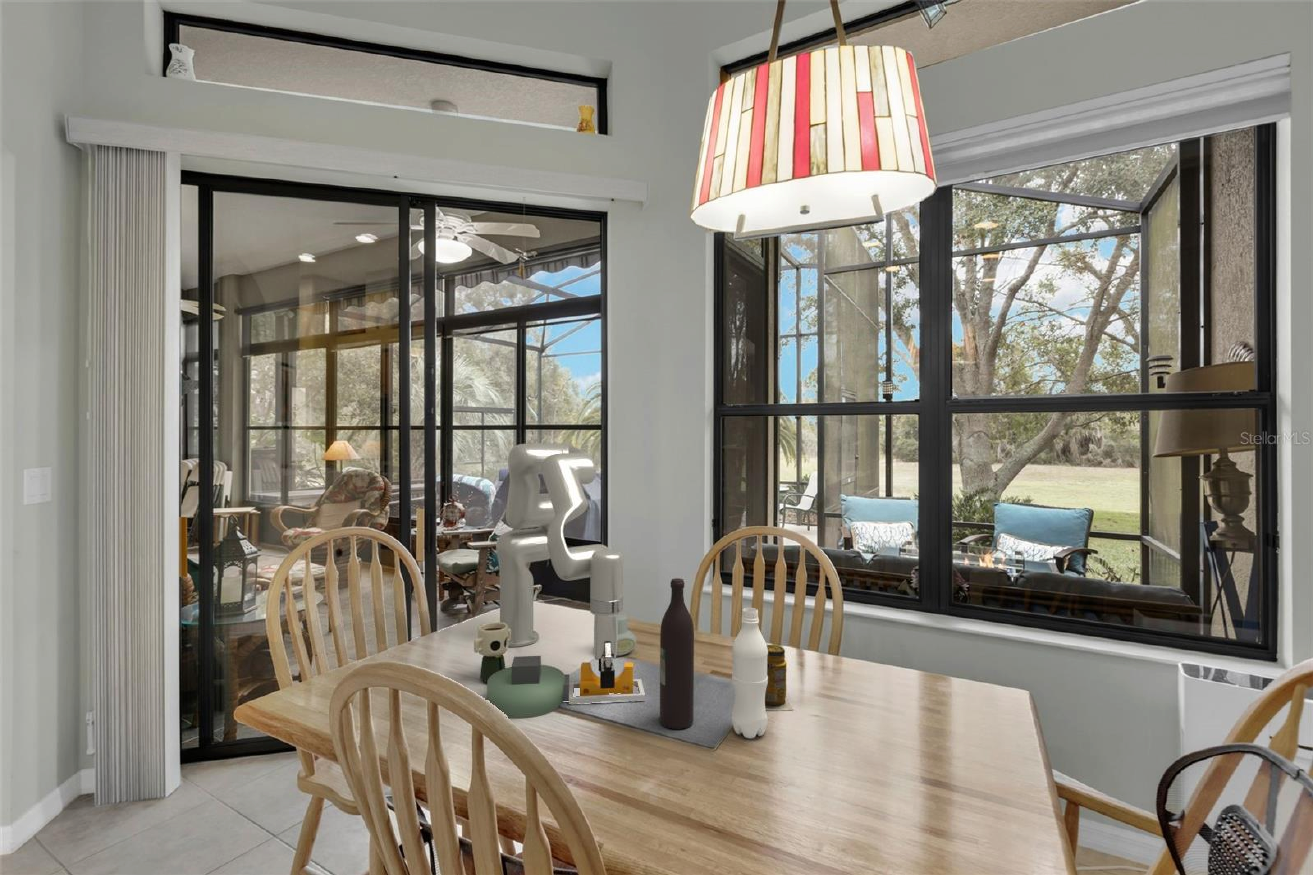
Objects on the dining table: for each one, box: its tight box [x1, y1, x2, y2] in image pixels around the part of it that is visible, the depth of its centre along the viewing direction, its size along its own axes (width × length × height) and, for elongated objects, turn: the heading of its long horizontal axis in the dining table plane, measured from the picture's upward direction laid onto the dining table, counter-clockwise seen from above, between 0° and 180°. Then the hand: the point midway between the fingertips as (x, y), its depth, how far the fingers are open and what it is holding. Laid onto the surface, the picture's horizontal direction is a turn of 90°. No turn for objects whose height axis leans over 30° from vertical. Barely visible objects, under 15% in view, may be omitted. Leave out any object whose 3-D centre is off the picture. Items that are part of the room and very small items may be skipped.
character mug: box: [473, 621, 511, 683], centre depth 153 cm, size 11×7×13 cm, turn 143°
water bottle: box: [731, 607, 768, 739], centre depth 127 cm, size 7×7×25 cm
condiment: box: [765, 644, 794, 712], centre depth 141 cm, size 7×8×12 cm
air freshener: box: [611, 613, 637, 657], centre depth 171 cm, size 11×8×10 cm
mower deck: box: [486, 655, 646, 719], centre depth 142 cm, size 17×35×9 cm, turn 97°
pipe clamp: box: [579, 661, 634, 696], centre depth 144 cm, size 12×4×6 cm, turn 90°
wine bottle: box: [659, 577, 695, 730], centre depth 131 cm, size 7×7×30 cm
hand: (606, 679), depth 144 cm, fingers open, 9 cm apart
